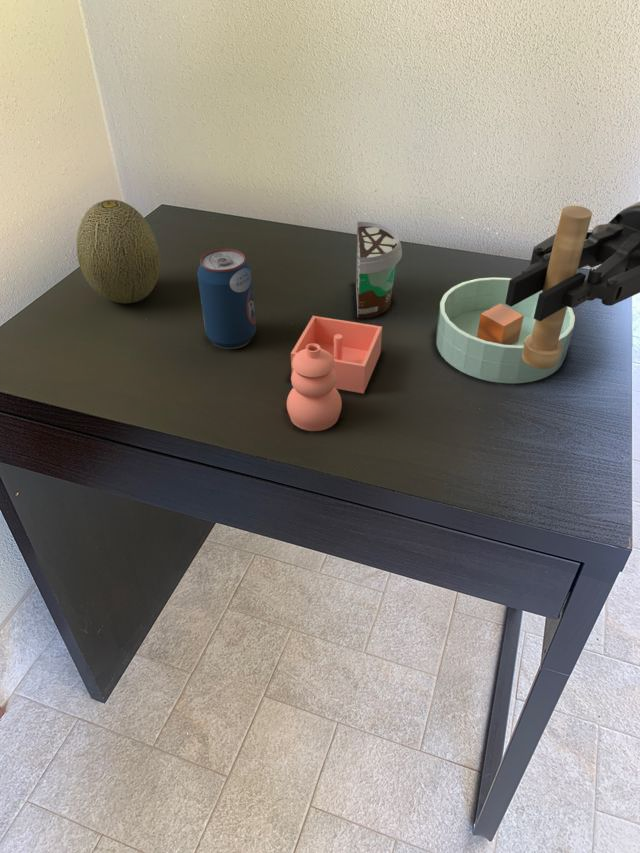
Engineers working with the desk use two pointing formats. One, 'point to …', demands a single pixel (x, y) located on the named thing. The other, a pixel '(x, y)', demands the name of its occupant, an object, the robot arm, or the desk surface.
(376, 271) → the food container
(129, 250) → the fruit
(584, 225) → the pestle
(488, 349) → the bowl
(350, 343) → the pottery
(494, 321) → the block
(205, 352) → the desk surface
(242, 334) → the soda can
